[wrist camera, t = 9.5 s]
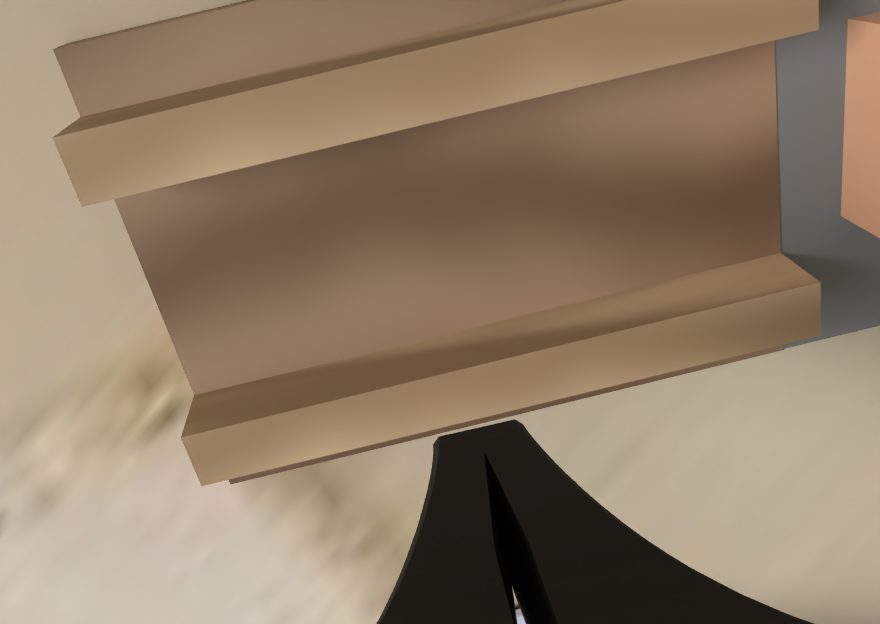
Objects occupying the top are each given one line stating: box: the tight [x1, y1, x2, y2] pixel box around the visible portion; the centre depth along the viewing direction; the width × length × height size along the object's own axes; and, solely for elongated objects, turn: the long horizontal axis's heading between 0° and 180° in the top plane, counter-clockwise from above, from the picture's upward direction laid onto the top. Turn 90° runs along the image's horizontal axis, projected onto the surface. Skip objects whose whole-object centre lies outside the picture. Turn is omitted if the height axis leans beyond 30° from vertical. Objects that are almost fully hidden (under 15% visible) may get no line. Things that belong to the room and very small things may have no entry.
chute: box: [53, 0, 821, 486], centre depth 20 cm, size 12×16×3 cm
